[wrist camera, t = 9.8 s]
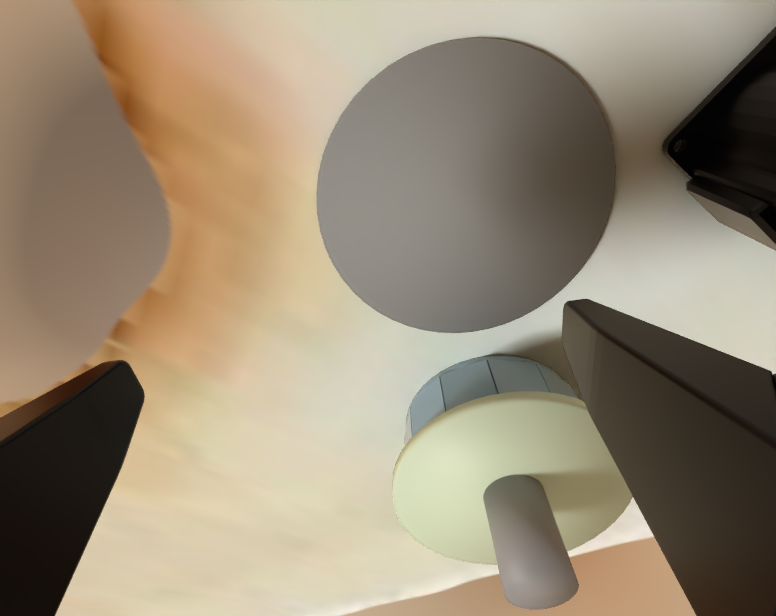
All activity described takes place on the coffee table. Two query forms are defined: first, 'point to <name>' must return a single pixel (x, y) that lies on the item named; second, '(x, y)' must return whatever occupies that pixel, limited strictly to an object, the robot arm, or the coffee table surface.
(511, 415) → the lid
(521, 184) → the mat
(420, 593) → the coffee table surface
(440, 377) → the bowl
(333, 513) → the coffee table surface
